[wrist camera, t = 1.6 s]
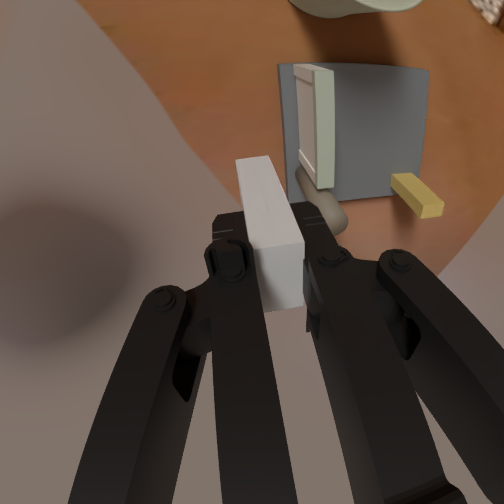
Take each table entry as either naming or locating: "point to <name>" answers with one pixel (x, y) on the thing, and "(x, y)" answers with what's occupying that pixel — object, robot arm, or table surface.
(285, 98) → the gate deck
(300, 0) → the can
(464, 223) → the table surface
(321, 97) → the white framed panel
